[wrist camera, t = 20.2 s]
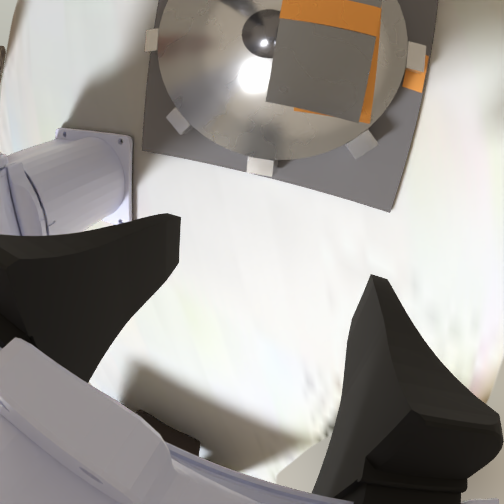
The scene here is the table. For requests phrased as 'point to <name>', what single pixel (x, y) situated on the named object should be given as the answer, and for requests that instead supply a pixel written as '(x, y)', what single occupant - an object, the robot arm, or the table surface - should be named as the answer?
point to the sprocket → (264, 81)
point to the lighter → (2, 60)
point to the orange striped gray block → (324, 55)
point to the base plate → (326, 164)
